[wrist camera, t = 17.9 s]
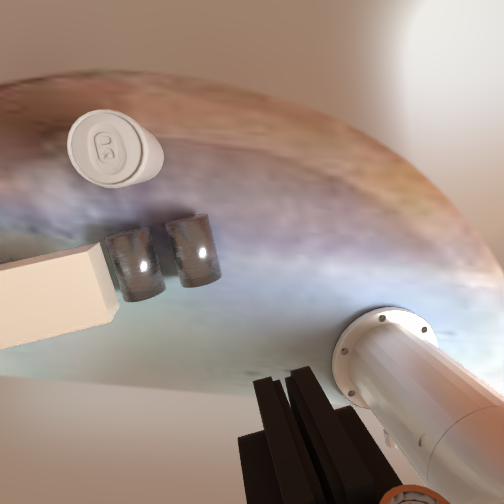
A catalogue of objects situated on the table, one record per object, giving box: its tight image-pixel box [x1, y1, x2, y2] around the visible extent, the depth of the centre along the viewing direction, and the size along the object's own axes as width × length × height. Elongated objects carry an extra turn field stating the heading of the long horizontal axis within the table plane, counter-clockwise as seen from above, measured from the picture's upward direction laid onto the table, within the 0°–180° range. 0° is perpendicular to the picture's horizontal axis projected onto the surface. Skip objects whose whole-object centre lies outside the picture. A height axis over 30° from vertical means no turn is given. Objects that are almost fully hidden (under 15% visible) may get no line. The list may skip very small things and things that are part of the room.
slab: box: [0, 242, 120, 350], centre depth 29 cm, size 6×12×4 cm, turn 102°
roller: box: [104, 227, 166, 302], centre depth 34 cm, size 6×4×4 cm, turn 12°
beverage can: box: [67, 109, 164, 188], centre depth 28 cm, size 5×5×12 cm
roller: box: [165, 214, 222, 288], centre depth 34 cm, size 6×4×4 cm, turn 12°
